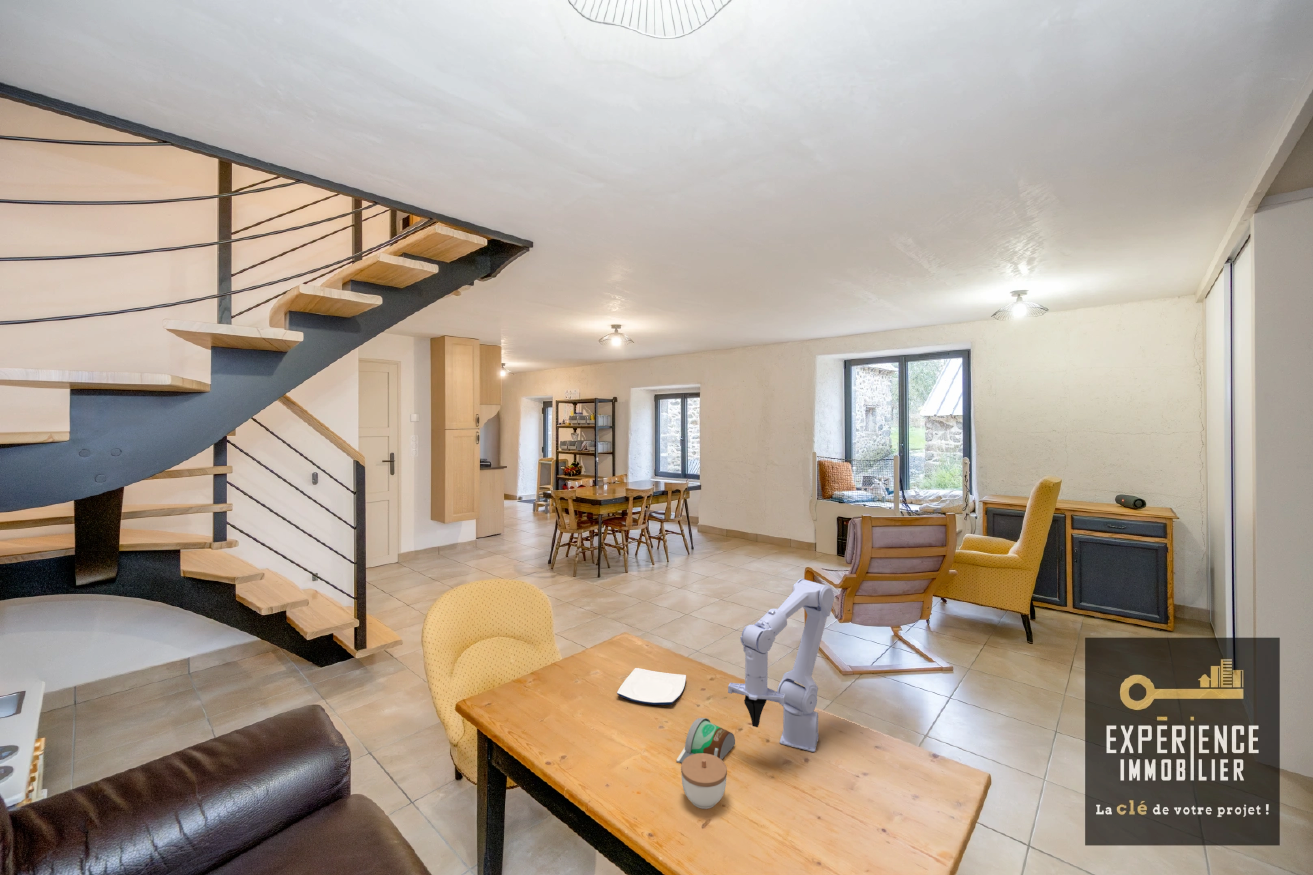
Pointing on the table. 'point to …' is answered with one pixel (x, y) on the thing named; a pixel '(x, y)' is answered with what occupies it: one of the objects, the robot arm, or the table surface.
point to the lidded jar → (703, 779)
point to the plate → (652, 687)
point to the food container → (708, 739)
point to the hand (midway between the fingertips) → (755, 724)
